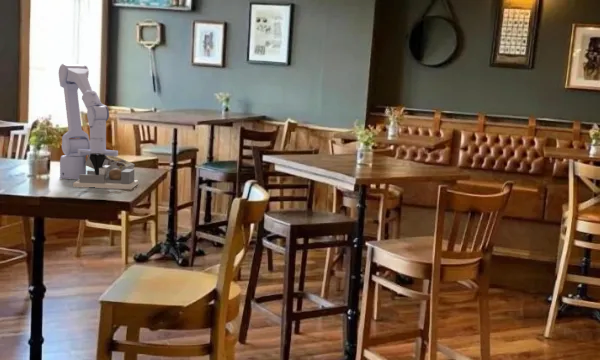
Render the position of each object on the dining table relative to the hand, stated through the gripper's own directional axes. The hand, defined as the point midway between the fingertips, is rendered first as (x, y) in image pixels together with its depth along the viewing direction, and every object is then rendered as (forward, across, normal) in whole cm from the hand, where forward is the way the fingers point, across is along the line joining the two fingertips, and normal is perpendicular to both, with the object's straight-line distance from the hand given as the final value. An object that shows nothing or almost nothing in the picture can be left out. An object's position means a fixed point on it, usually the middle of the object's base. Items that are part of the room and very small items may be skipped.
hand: (97, 174), depth 282 cm
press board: (+4, +3, 0) cm, 5 cm away
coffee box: (+1, +8, +14) cm, 17 cm away
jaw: (+1, +2, 0) cm, 3 cm away
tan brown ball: (0, +7, 0) cm, 7 cm away
